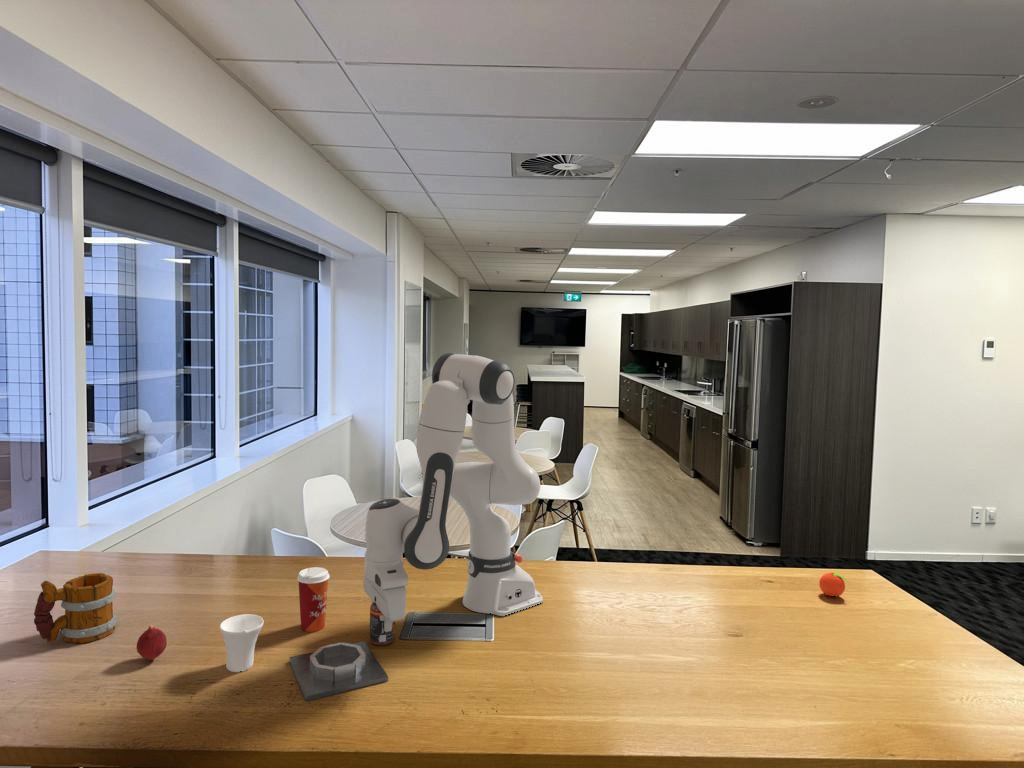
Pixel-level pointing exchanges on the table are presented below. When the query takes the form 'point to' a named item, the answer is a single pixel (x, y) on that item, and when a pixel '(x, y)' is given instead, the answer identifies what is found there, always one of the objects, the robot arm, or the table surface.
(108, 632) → the mug
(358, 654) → the ring collar
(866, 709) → the table surface
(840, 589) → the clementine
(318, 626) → the paper cup
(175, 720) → the table surface
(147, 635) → the onion
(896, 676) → the table surface
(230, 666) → the cup
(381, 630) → the supplement bottle
